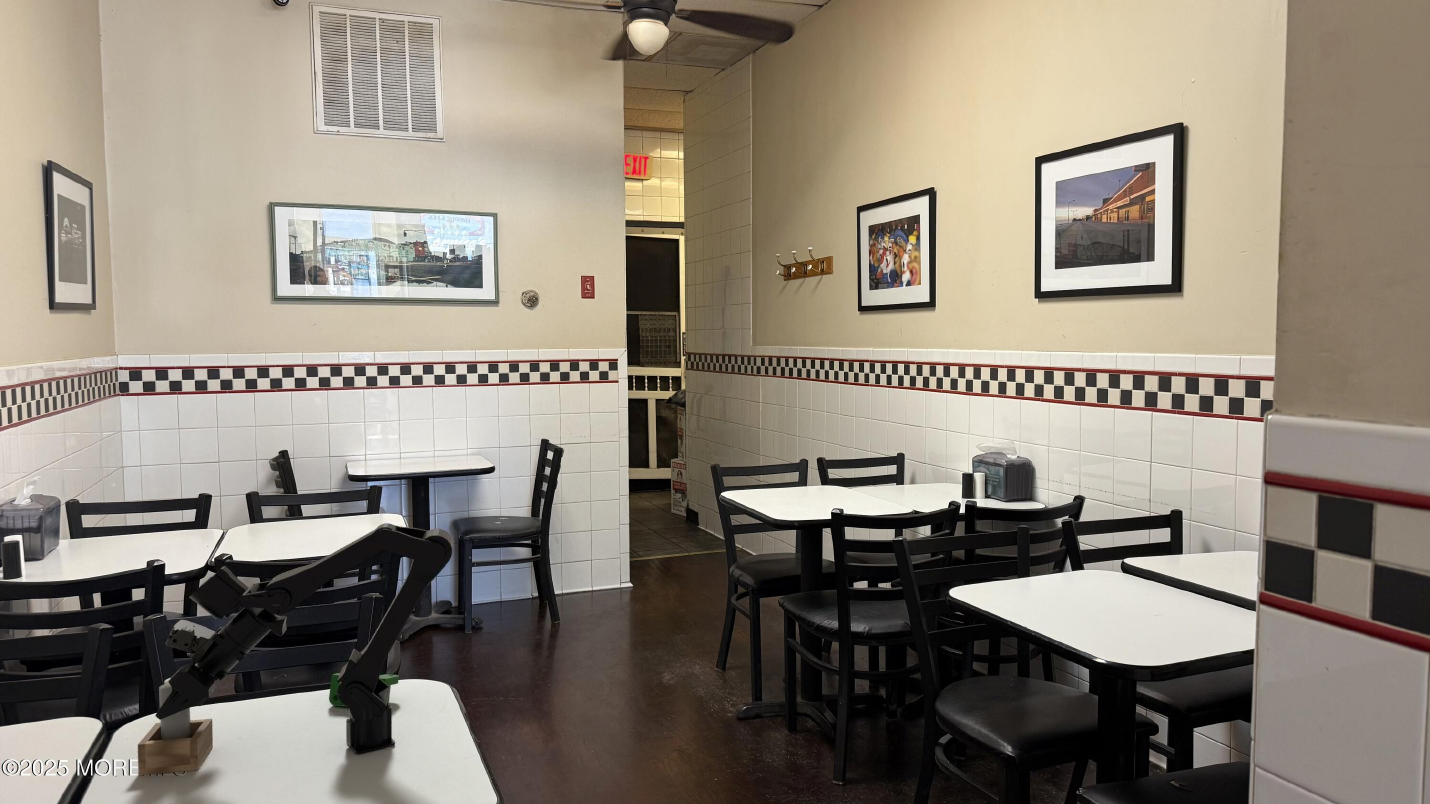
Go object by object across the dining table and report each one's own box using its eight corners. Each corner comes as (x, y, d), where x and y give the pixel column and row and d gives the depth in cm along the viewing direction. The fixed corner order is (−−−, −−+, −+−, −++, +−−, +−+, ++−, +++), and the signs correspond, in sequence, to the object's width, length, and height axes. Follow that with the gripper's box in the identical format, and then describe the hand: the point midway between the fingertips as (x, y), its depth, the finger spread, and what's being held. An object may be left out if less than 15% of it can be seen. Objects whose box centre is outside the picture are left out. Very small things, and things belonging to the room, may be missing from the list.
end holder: (212, 747, 156) (212, 718, 155) (197, 769, 148) (197, 739, 147) (156, 752, 154) (156, 722, 153) (138, 775, 145) (137, 744, 145)
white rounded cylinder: (179, 747, 153) (176, 673, 153) (197, 751, 152) (194, 676, 151) (155, 757, 149) (152, 682, 149) (174, 761, 148) (171, 685, 147)
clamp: (386, 723, 177) (408, 679, 178) (370, 728, 172) (393, 683, 173) (337, 693, 180) (359, 650, 181) (320, 697, 174) (342, 653, 175)
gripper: (216, 589, 159) (146, 656, 157) (182, 621, 141) (102, 697, 139) (266, 631, 161) (198, 698, 159) (239, 667, 143) (162, 743, 141)
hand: (166, 707), depth 150 cm, fingers open, 8 cm apart
